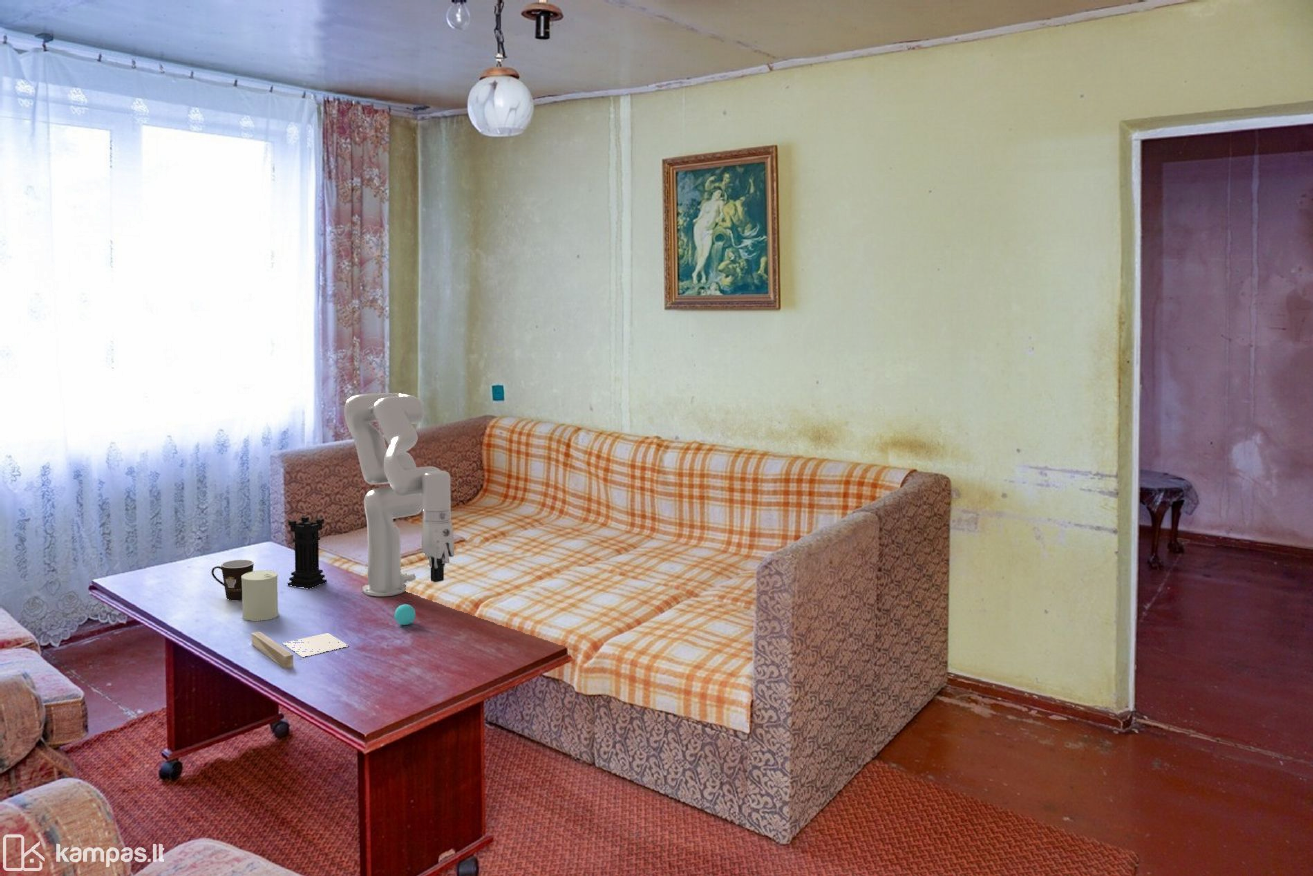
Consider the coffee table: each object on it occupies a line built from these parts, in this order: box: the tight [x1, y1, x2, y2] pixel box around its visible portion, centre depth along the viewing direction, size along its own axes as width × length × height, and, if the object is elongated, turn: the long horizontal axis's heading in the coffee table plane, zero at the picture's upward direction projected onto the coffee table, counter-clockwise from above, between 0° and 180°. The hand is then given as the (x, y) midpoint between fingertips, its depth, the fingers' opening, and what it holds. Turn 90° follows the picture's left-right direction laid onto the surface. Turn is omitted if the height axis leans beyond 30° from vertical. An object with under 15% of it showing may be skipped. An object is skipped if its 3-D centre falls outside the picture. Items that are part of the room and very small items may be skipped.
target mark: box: [281, 632, 349, 658], centre depth 235 cm, size 12×12×1 cm
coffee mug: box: [211, 559, 255, 601], centre depth 269 cm, size 12×9×10 cm
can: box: [241, 570, 279, 622], centre depth 253 cm, size 9×9×12 cm
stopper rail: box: [251, 631, 294, 670], centre depth 227 cm, size 2×20×3 cm, turn 44°
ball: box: [393, 603, 416, 626], centre depth 252 cm, size 6×6×6 cm
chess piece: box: [286, 516, 328, 590], centre depth 282 cm, size 8×8×20 cm
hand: (437, 580), depth 257 cm, fingers closed
